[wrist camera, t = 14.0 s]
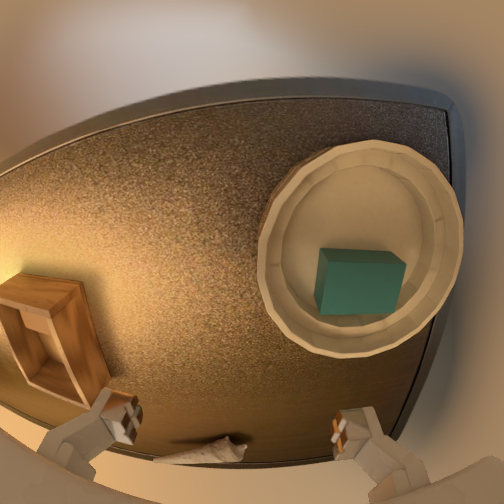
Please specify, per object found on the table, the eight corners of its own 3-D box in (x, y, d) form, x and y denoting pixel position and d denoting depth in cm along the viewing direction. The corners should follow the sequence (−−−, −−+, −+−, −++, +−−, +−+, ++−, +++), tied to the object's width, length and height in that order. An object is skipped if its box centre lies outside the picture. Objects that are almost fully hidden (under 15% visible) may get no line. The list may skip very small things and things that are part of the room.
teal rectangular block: (319, 247, 19) (328, 261, 17) (391, 250, 19) (407, 264, 17) (313, 296, 21) (319, 315, 18) (381, 296, 21) (394, 313, 18)
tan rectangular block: (29, 283, 22) (14, 294, 19) (65, 290, 22) (49, 303, 19) (39, 315, 23) (25, 327, 20) (75, 324, 23) (61, 339, 20)
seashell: (243, 428, 30) (242, 439, 26) (251, 450, 29) (251, 463, 25) (150, 440, 29) (140, 450, 25) (159, 461, 28) (151, 472, 25)
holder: (19, 272, 22) (-12, 293, 17) (82, 281, 22) (48, 310, 16) (49, 359, 26) (28, 384, 21) (111, 378, 26) (92, 411, 21)
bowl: (262, 134, 18) (262, 126, 13) (441, 161, 17) (476, 165, 13) (254, 324, 22) (252, 359, 18) (409, 321, 22) (430, 349, 18)
